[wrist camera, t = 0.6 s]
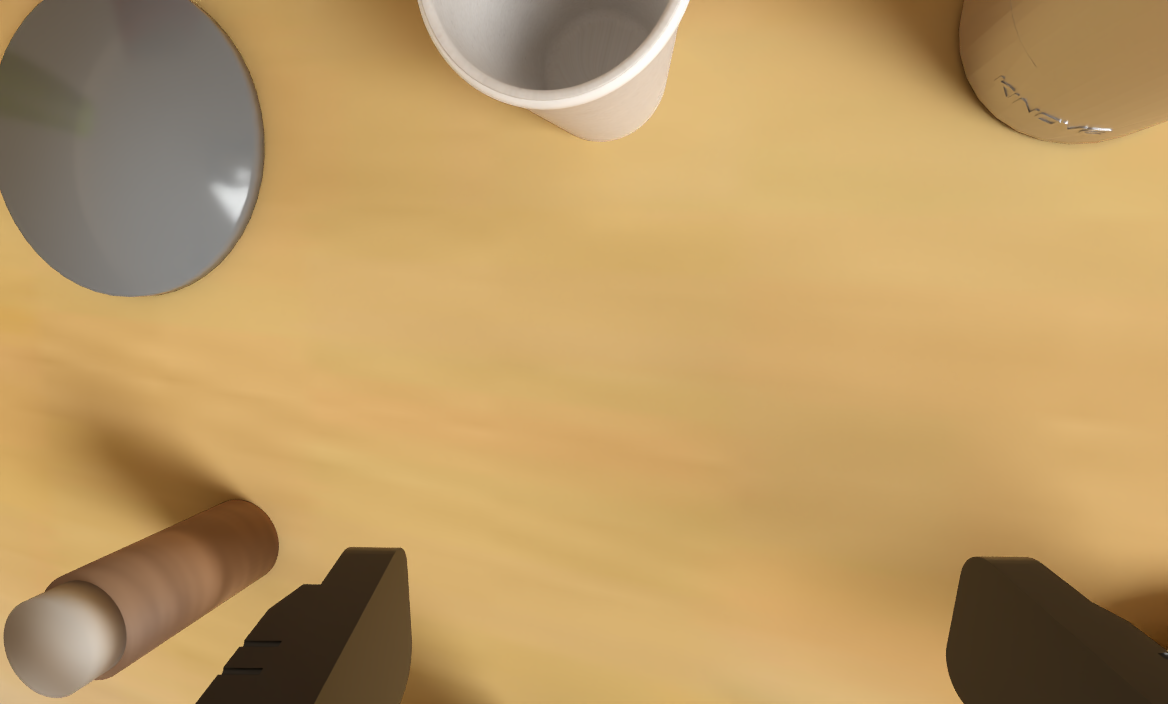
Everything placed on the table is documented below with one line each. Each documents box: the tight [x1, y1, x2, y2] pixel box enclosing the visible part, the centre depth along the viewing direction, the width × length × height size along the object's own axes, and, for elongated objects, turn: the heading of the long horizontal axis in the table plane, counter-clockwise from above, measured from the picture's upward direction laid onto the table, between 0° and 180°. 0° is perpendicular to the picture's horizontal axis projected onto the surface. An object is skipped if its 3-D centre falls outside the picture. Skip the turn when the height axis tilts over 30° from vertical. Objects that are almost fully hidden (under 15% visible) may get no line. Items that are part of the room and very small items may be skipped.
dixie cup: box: [417, 0, 689, 142], centre depth 21 cm, size 8×8×10 cm
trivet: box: [0, 0, 264, 297], centre depth 31 cm, size 16×16×1 cm
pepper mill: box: [4, 500, 279, 698], centre depth 28 cm, size 5×5×10 cm
